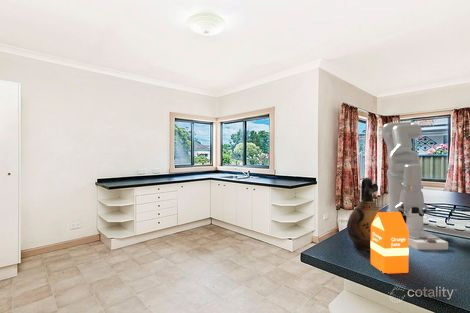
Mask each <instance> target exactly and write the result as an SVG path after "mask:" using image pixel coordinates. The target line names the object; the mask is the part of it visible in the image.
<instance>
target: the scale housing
mask: <svg viewBox="0 0 470 313" xmlns="http://www.w3.org/2000/svg"><path fill="white" fill-rule="evenodd" d="M408 246H410V247H411V248H413V249H415V250H419V251H420V250H421V251H423V250H449V242H448V241H446V240H444V239H442V238H440V237H438V239H412V238H410V237H409V244H408Z"/></svg>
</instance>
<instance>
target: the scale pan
mask: <svg viewBox="0 0 470 313" xmlns="http://www.w3.org/2000/svg"><path fill="white" fill-rule="evenodd" d="M408 230H409V237H410V238H412V239H438V238H439V236H437V235H435V234H433V233H430V232H428V231H426V230H424V229H423V230H421V229H408Z"/></svg>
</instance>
